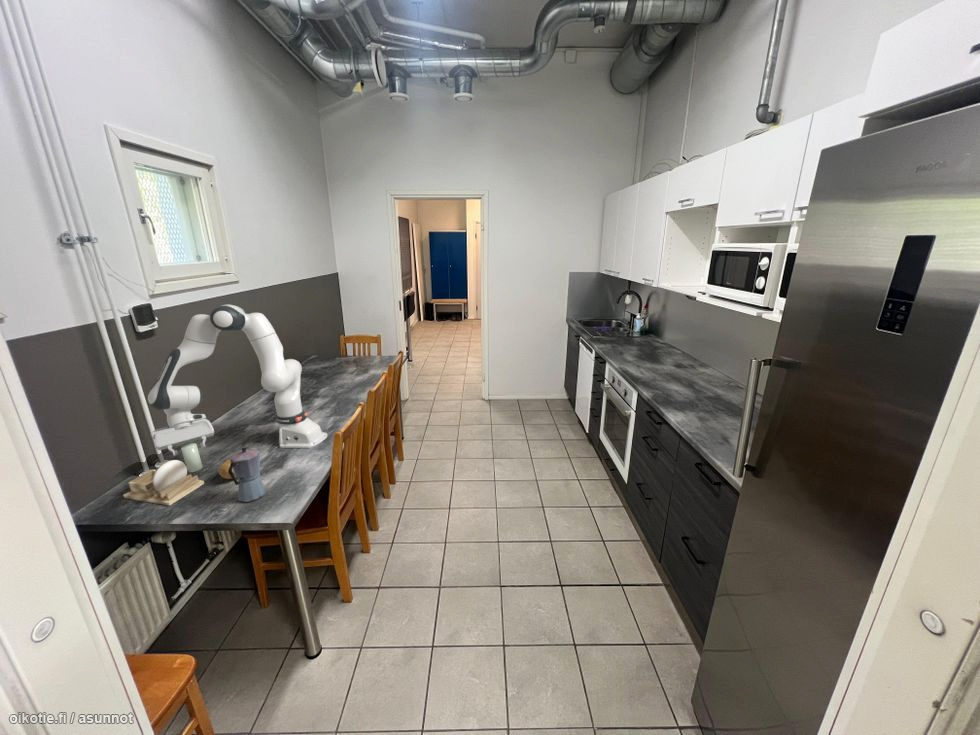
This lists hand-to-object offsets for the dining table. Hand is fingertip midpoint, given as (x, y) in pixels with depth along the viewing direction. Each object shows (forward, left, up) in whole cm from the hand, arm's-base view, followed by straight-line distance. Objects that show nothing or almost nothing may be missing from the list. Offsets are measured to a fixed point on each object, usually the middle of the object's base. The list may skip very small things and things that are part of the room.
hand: (189, 451), depth 163 cm
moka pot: (-41, +12, -8) cm, 44 cm away
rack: (-4, +16, -8) cm, 18 cm away
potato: (-23, +1, -8) cm, 25 cm away
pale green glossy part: (-1, +1, -8) cm, 8 cm away
